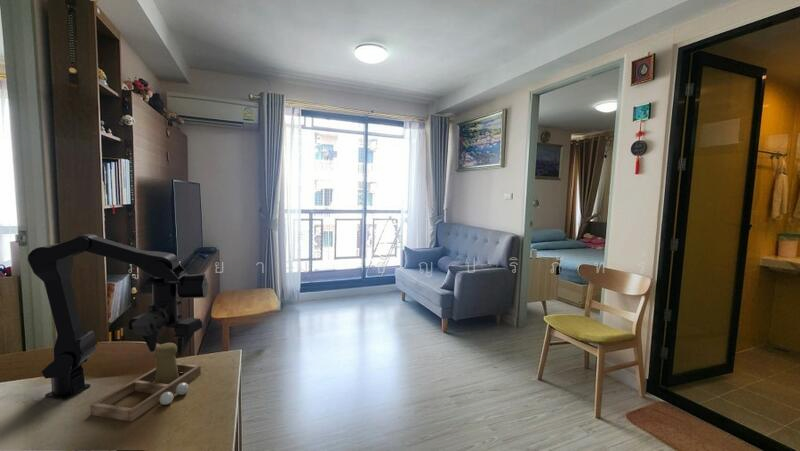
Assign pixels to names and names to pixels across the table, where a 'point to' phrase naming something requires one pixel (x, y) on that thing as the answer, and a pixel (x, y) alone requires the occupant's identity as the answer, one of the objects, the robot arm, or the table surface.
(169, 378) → the olive tapered figurine
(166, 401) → the pebble
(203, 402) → the table surface
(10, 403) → the table surface
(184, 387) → the pebble
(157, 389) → the caddy
